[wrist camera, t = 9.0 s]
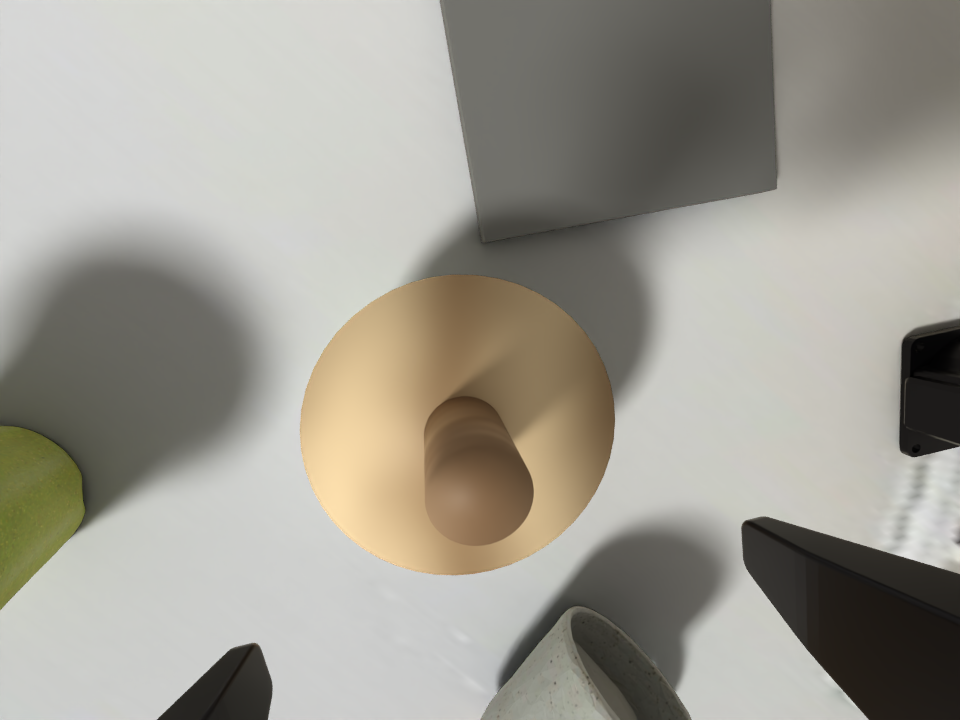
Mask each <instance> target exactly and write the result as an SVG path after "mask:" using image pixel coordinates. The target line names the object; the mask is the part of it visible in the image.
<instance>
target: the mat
mask: <svg viewBox="0 0 960 720" xmlns="http://www.w3.org/2000/svg"><path fill="white" fill-rule="evenodd" d="M440 4H441V10H442V16H443V22H444V28H445V33H446V39H447V45H448V51H449V56H450V62H451V68H452V74H453V80H454V85H455V91H456V97H457V103H458V109H459V114H460V120H461V126H462V132H463V137H464V143H465V149H466V155H467V161H468V166H469V172H470V178H471V184H472V189H473V195H474V201H475V207H476V213H477V218H478V224H479V230H480V236H481V241H482V243H485V242H491V241H497V240H502V239H508V238H513V237H519V236H524V235H530V234H535V233H541V232H546V231H552V230H557V229H563V228H568V227H574V226H580V225H585V224H591V223H596V222H602V221H607V220H613V219H618V218H624V217H629V216H635V215H640V214H646V213H651V212H657V211H662V210H668V209H674V208H679V207H685V206H690V205H696V204H701V203H707V202H712V201H718V200H723V199H729V198H734V197H740V196H745V195H751V194H757V193H762V192H766V191H770V190H775V189H777V180H776V151H775V122H774V92H773V63H772V34H771V5H770V0H440Z"/></svg>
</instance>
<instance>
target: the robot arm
mask: <svg viewBox="0 0 960 720" xmlns="http://www.w3.org/2000/svg"><path fill="white" fill-rule="evenodd" d="M959 446H960V326H957V327H952V328H947V329H943V330H938V331H934V332H929V333H924V334H920V335H915V336H911V337H909V338H907V339H906V340H905V342H904V343H903V347H902V384H901V424H900V451H901V452H902V453H903V454H906V455H908V456H911V457H918V456H923V455H927V454H931V453H935V452H939V451H943V450H947V449H951V448H955V447H959ZM741 531H742V548H743V560H744V564H745V566H746V568H747V570H748V572H749V573H750V575H751V576H752V577H753V579H754V580H755V581H756V583H757V584H758V585H759V587H760V588H761V589H762V591H763V592H764V593H765V595H766V596H767V597H768V599H769V600H770V601H771V603H772V604H773V605H774V607H775V608H776V609H777V611H778V612H779V613H780V615H781V616H782V617H783V619H784V620H785V621H786V623H787V624H788V625H789V627H790V628H791V629H792V631H793V632H794V633H795V635H796V636H797V637H798V639H799V640H800V641H801V642H802V644H803V645H804V646H805V648H806V649H807V650H808V651H809V652H810V654H811V655H812V656H813V657H814V658H815V659H816V661H817V662H818V663H819V664H820V665H821V666H822V667H823V669H824V670H825V671H826V672H827V673H828V674H829V675H830V676H831V678H832V679H833V680H834V681H835V682H836V683H837V684H838V685H839V687H840V688H841V689H842V690H843V691H844V692H845V693H846V694H847V696H848V697H849V698H850V699H851V700H852V701H853V702H854V703H855V704H856V706H857V707H858V708H859V709H860V710H861V711H862V712H863V713H864V715H865V716H866V717H867V718H868V719H869V720H960V574H958V573H954V572H951V571H948V570H944V569H941V568H938V567H934V566H931V565H927V564H924V563H921V562H917V561H914V560H911V559H907V558H904V557H900V556H897V555H894V554H890V553H887V552H884V551H880V550H877V549H873V548H870V547H867V546H863V545H860V544H857V543H853V542H850V541H847V540H843V539H840V538H836V537H833V536H830V535H826V534H823V533H820V532H816V531H813V530H809V529H806V528H803V527H799V526H796V525H793V524H789V523H786V522H783V521H779V520H776V519H772V518H769V517H758V518H754V519H750V520H746V521H745V522H743V524H742V528H741ZM271 699H272V680H271V677H270V674H269V671H268V668H267V665H266V662H265V659H264V656H263V653H262V650H261V648H260V646H259V645H258V644H256V643H250V644H246V645H242V646H238V647H234V648H232V649H230V650H229V651H228V652H227V653H226V654H225V655H224V656H223V657H222V658H221V659H220V660H219V661H217V662H216V663H215V664H214V665H213V666H212V667H211V668H210V669H209V670H208V671H207V672H206V673H205V674H204V675H203V676H202V677H201V678H200V679H199V680H198V681H197V682H196V683H195V684H194V685H193V686H191V687H190V688H189V689H188V690H187V691H186V692H185V693H184V694H183V695H182V696H181V697H180V698H179V699H178V700H177V701H176V702H175V703H174V704H173V705H172V706H171V707H170V708H169V709H168V710H166V711H165V712H164V713H163V714H162V715H161V716H160V717H159V718H158V719H157V720H268V716H269V710H270V705H271Z"/></svg>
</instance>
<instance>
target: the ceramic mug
mask: <svg viewBox="0 0 960 720" xmlns="http://www.w3.org/2000/svg"><path fill="white" fill-rule="evenodd" d="M481 720H691V717H690V715H689V713H688V711H687V710H686V708H685V707H684V705H683V703H682V702H681V700H680V699H679V697H678V695H677V694H676V692H675V691H674V690H673V688H672V687H671V685H670V684H669V683H668V681H667V680H666V678H665V677H664V675H663V674H662V673H661V671H660V670H659V669H658V668H657V667H656V666H655V664H654V663H653V662H652V661H651V660H650V658H649V657H648V656H647V655H646V654H645V653H644V652H643V651H642V650H641V648H640V647H639V646H638V645H637V644H636V643H635V642H634V641H633V640H632V639H631V638H630V637H629V636H628V635H627V634H626V633H625V632H623V631H622V630H621V629H620V628H618V627H617V626H616V625H615V624H613V623H612V622H611V621H610V620H608V619H607V618H606V617H604V616H602V615H600V614H599V613H597V612H596V611H593V610H591V609H589V608H586V607H582V606H575V607H571V608H570V609H568V610H567V611H566V612H565V613H564V614H563V615H562V616H561V617H560V619H559V620H558V621H557V623H556V624H555V625H554V627H553V628H552V629H551V630H550V631H549V632H548V633H547V635H546V636H545V637H544V638H543V639H542V640H541V641H540V643H539V644H538V645H537V646H536V647H535V649H534V650H533V651H532V652H531V654H530V655H529V656H528V657H527V658H526V660H525V661H524V662H523V664H522V665H521V666H520V667H519V669H518V670H517V671H516V672H515V674H514V675H513V676H512V677H511V678H510V679H509V680H508V682H507V683H506V684H505V685H504V686H503V687H502V688H501V689H500V690H499V692H498V693H497V694H496V696H495V697H494V698H493V699H492V701H491V702H490V703H489V705H488V707H487V709H486V711H485V712H484V714H483V716H482V718H481Z"/></svg>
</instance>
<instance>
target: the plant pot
mask: <svg viewBox="0 0 960 720" xmlns="http://www.w3.org/2000/svg"><path fill="white" fill-rule="evenodd" d="M84 514H85V506H84V503H83V494H82V475H81V472H80V471H79V469H78V467H77V465H76V464H75V463H74V461H73V460H72V459H71V457H70V456H69V455H68V454H67V453H66V452H65V451H64V450H63V449H62V448H60V447H59V446H58V445H56V444H55V443H54V442H52V441H51V440H49V439H47V438H46V437H44V436H42V435H40V434H38V433H36V432H33V431H30V430H28V429H25V428H20V427H14V426H0V610H1V609H2V608H3V607H4V606H5V604H6V603H7V602H8V601H9V600H10V599H11V598H12V597H13V596H14V595H15V594H16V593H17V592H18V591H19V590H20V589H21V588H22V587H23V586H24V585H25V584H26V583H27V582H28V581H29V580H30V579H31V577H32V576H33V575H34V574H35V573H36V572H37V571H38V570H39V569H40V568H41V567H42V566H43V565H44V564H45V563H46V562H47V561H48V560H49V559H50V558H51V557H52V556H53V555H54V554H55V553H56V552H57V551H58V550H59V549H60V548H61V547H62V546H63V544H64V543H65V542H66V541H68V540H69V539H70V537H71V536H72V535H73V534H74V533H75V531H76V530H77V528H78V527H79V525H80V523H81V522H82V519H83V517H84Z"/></svg>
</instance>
